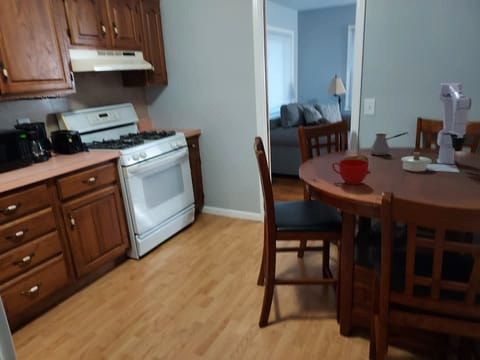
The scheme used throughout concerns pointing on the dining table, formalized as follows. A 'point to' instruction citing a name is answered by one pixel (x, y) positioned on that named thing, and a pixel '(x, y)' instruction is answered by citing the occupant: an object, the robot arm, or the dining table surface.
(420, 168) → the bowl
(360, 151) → the dining table surface
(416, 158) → the lid
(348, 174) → the ceramic cup
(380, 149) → the coffee pot
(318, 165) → the dining table surface
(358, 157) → the tin
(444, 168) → the mat
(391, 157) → the dining table surface
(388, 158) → the dining table surface
